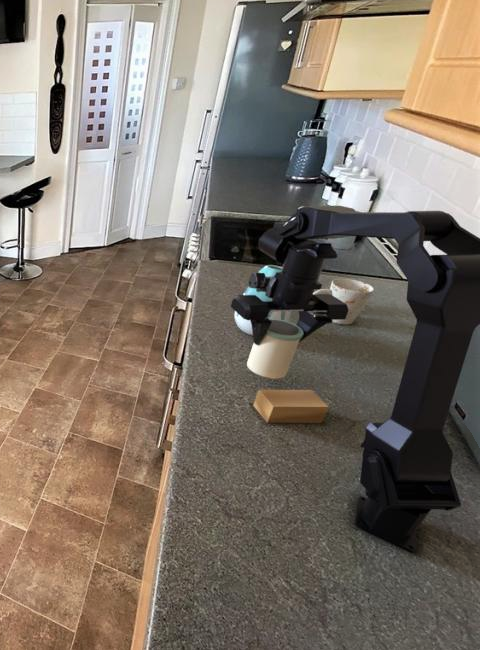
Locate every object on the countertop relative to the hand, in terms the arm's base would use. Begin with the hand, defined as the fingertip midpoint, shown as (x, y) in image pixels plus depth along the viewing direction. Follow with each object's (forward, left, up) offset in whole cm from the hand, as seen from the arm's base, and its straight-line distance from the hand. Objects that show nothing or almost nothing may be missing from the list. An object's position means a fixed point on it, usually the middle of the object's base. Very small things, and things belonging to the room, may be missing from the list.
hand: (274, 343), depth 87 cm
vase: (+24, +6, -10) cm, 27 cm away
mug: (+43, -7, -10) cm, 45 cm away
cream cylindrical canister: (-3, -3, -5) cm, 7 cm away
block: (-7, -6, -10) cm, 14 cm away
